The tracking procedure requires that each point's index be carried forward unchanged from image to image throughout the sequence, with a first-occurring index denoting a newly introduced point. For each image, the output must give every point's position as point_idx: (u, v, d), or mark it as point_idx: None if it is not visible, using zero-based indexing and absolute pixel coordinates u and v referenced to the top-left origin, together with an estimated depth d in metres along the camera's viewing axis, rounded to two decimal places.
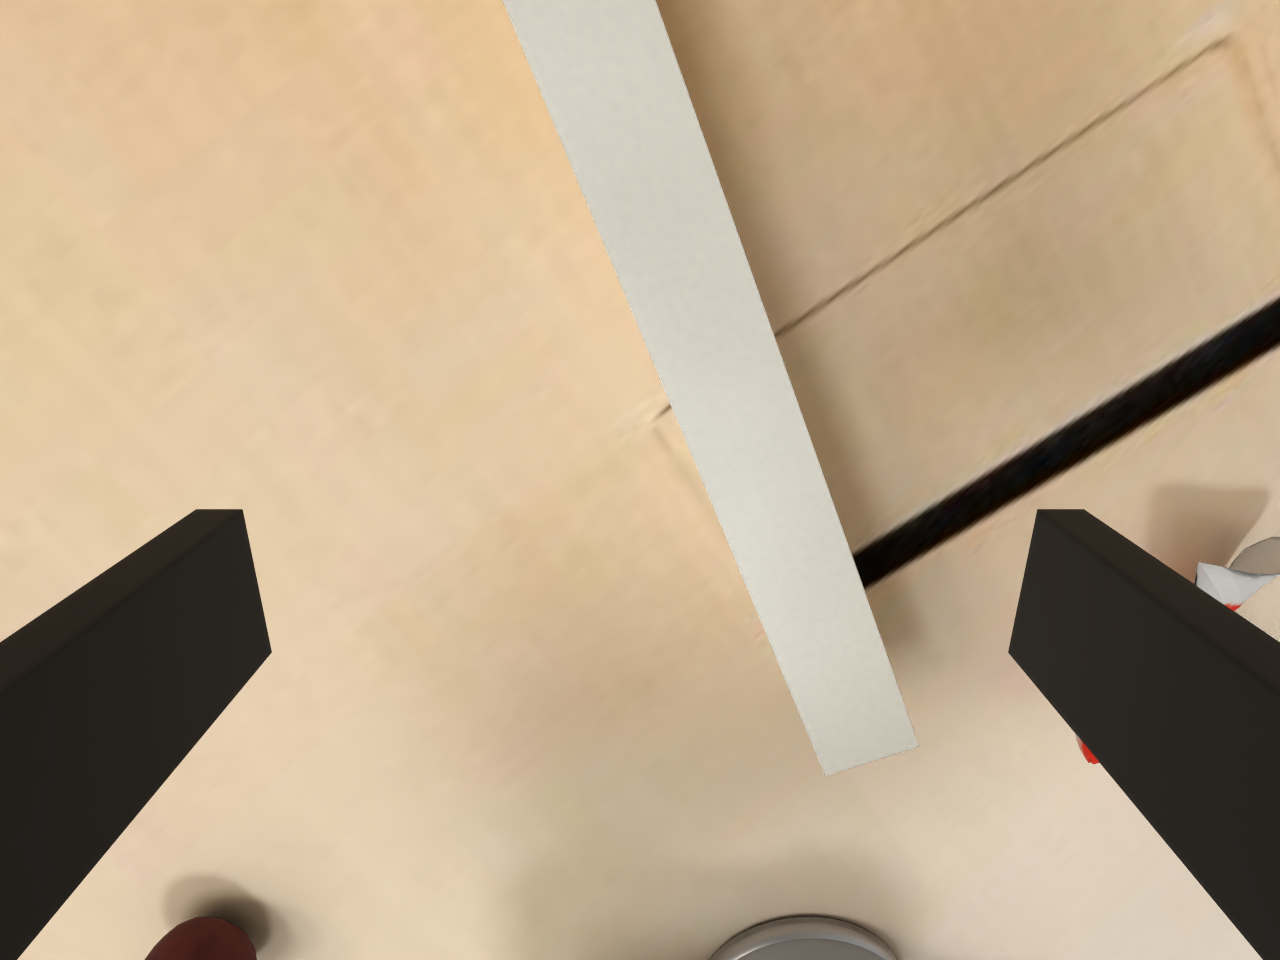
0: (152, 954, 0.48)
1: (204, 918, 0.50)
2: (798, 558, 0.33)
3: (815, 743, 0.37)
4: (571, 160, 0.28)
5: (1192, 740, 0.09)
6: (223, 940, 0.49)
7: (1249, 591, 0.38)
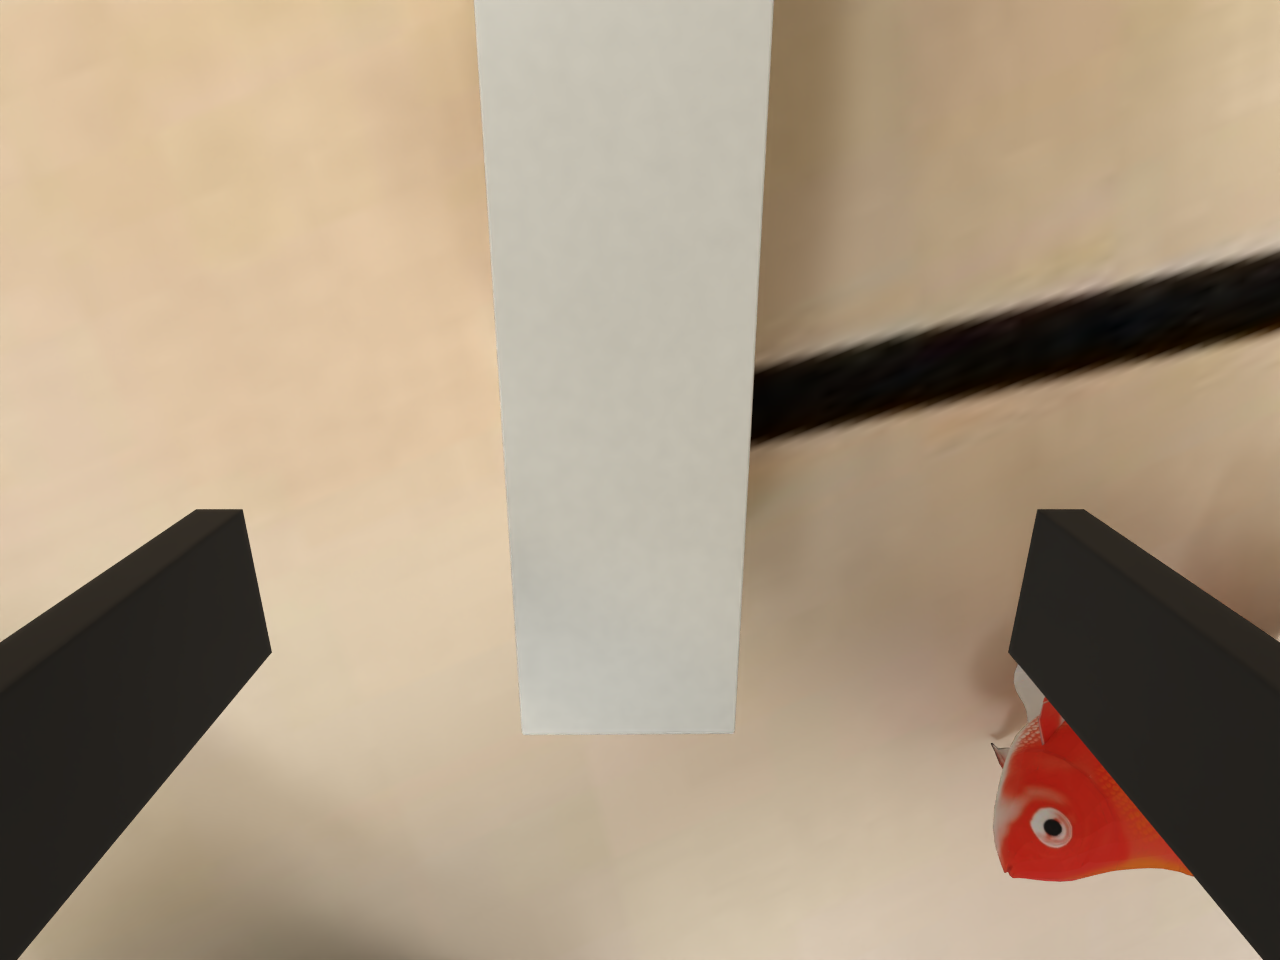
0: None
1: None
2: (636, 155, 0.13)
3: (523, 653, 0.16)
4: None
5: (1192, 740, 0.09)
6: None
7: None
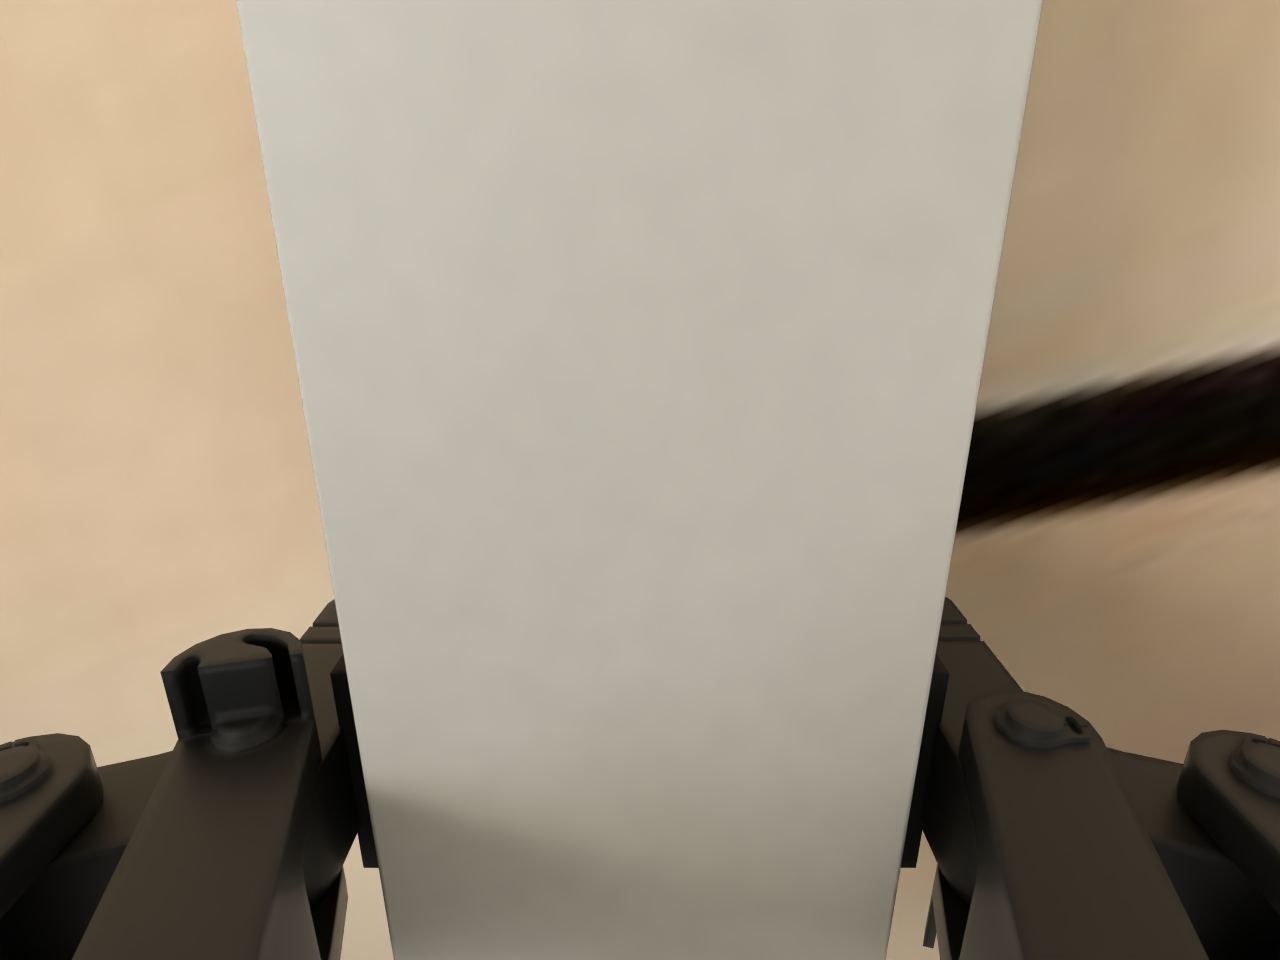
0: None
1: None
2: (672, 2, 0.04)
3: None
4: None
5: None
6: None
7: None
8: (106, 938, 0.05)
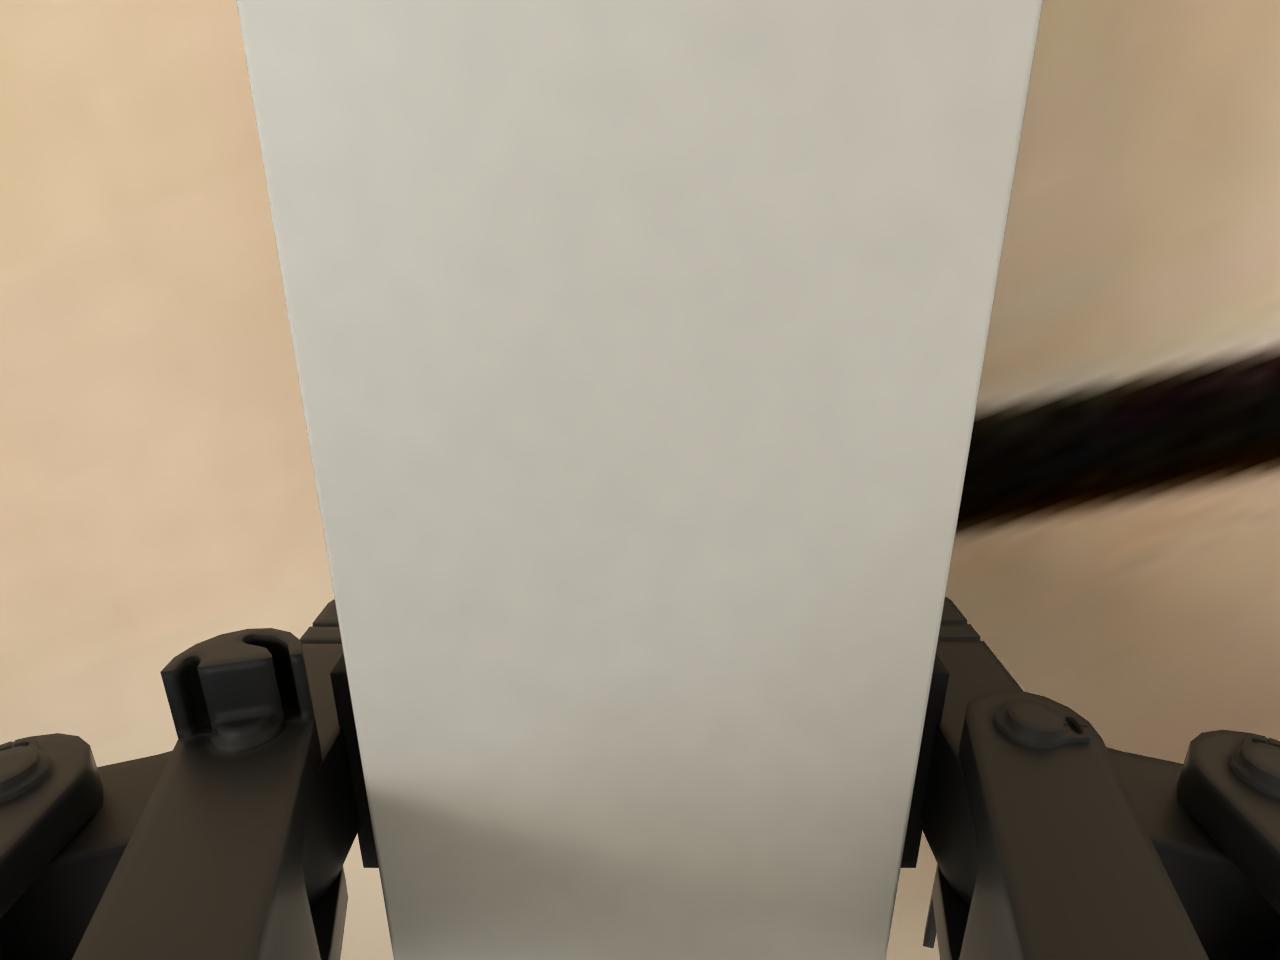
0: None
1: None
2: (670, 2, 0.04)
3: None
4: None
5: None
6: None
7: None
8: (106, 938, 0.05)
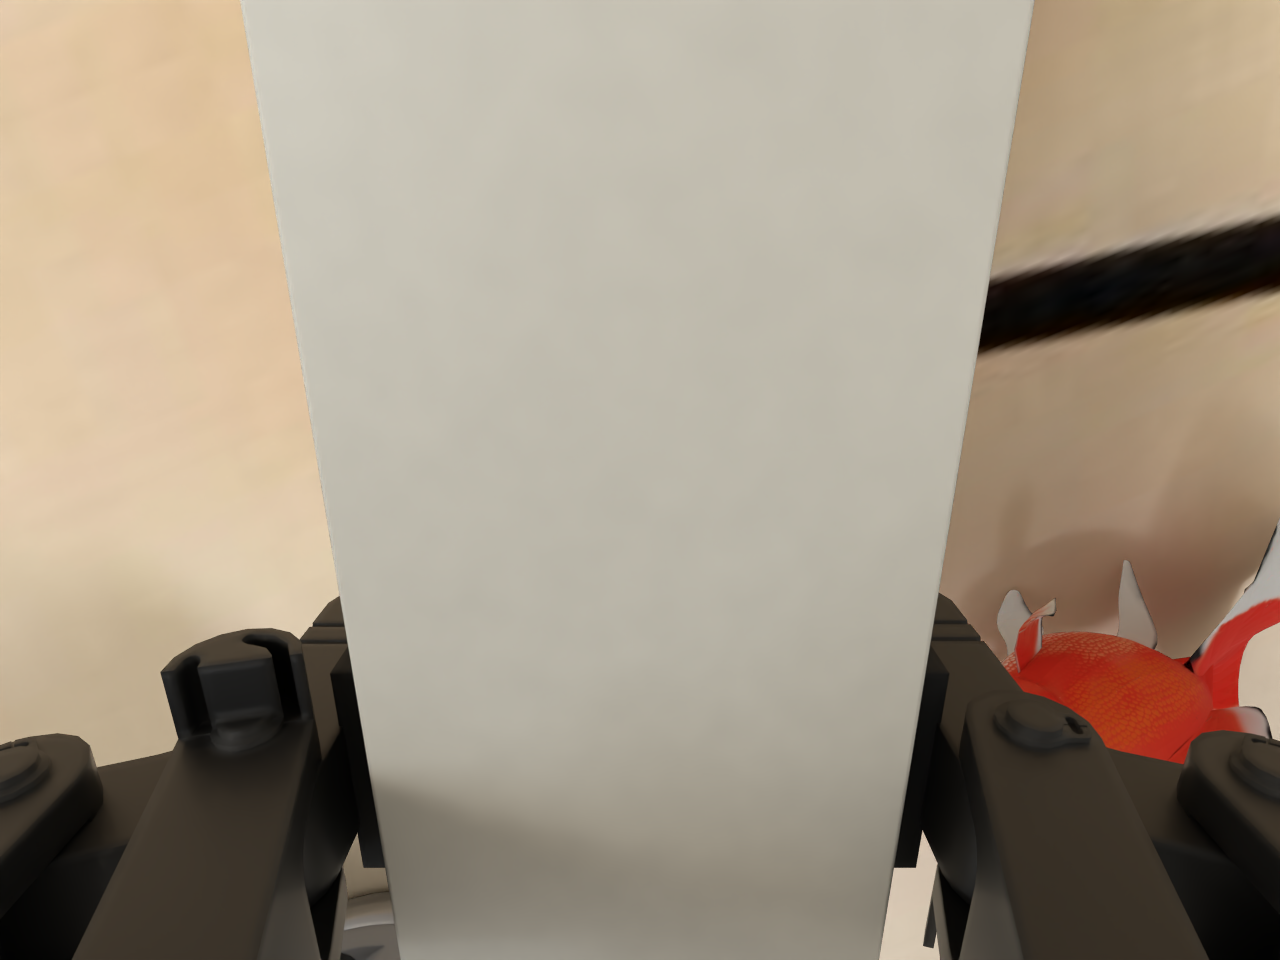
0: None
1: None
2: (670, 10, 0.05)
3: None
4: None
5: None
6: None
7: None
8: (106, 938, 0.05)
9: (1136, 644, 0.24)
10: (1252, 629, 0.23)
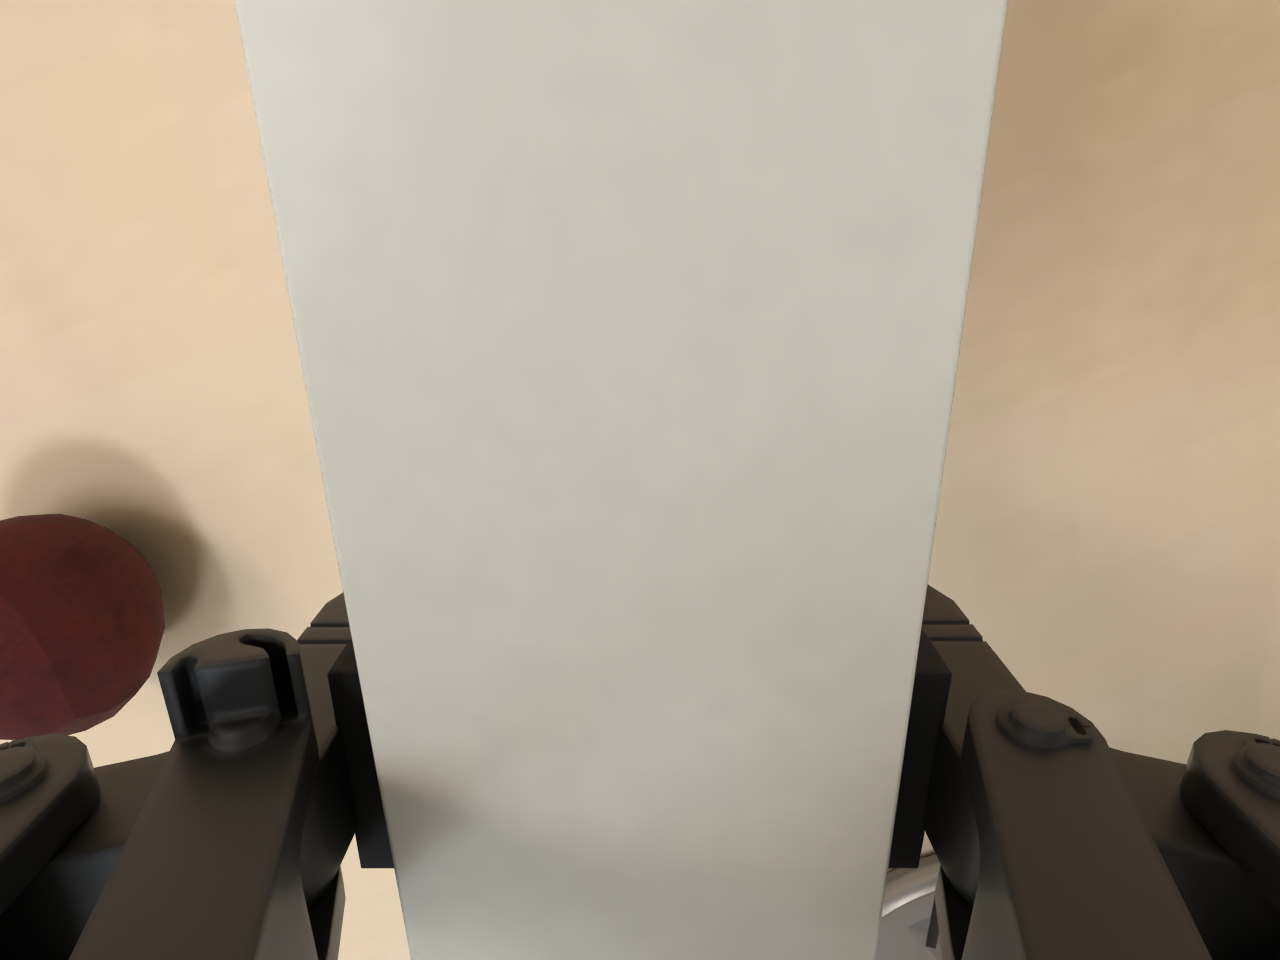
0: None
1: (92, 522, 0.26)
2: (652, 0, 0.05)
3: None
4: None
5: None
6: (124, 564, 0.25)
7: None
8: (103, 939, 0.05)
9: None
10: None
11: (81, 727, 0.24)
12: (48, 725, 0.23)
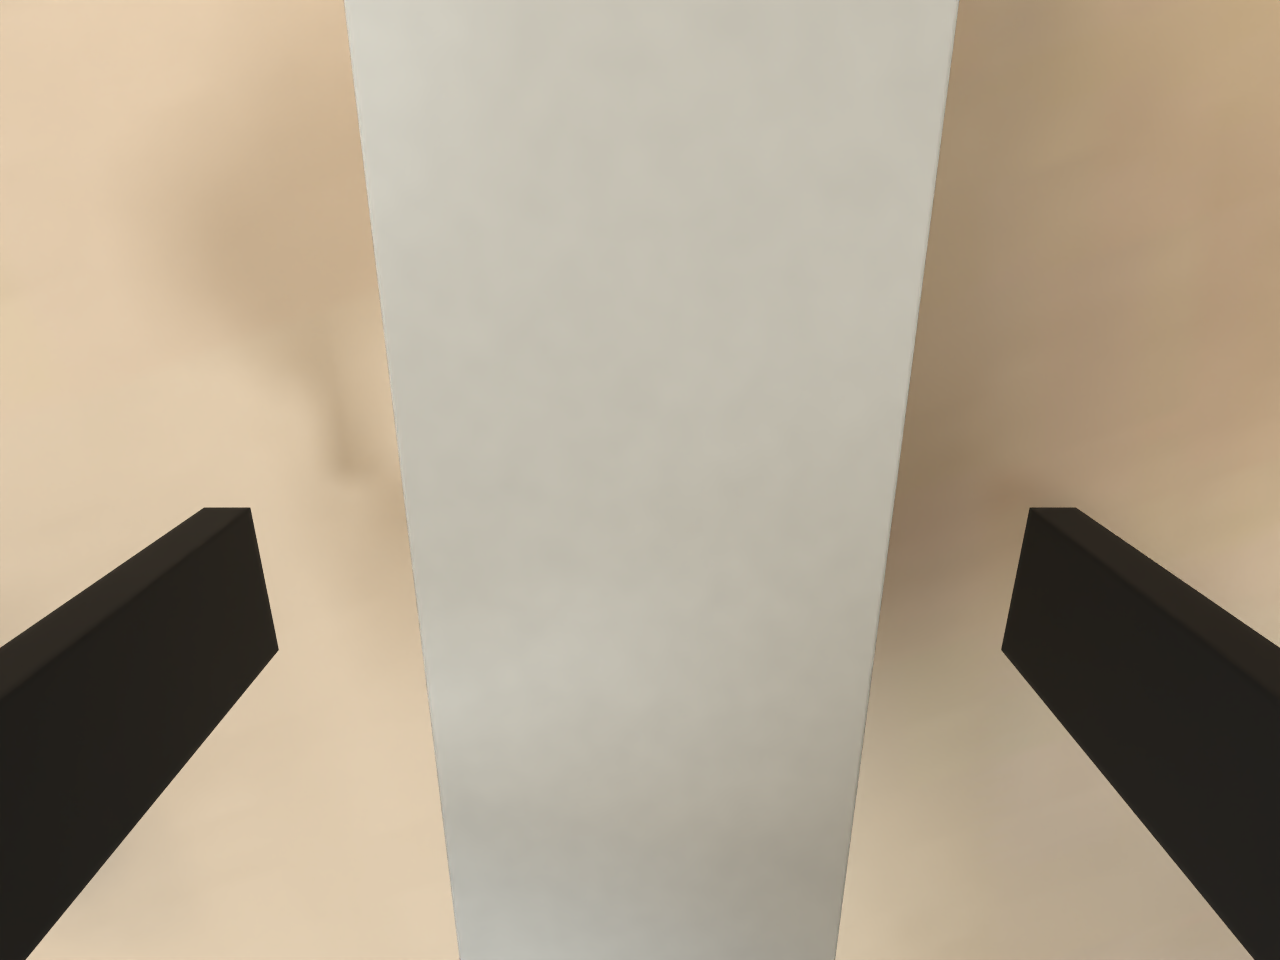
0: None
1: None
2: None
3: (466, 921, 0.09)
4: None
5: (1180, 735, 0.09)
6: None
7: None
8: None
9: None
10: None
11: None
12: None
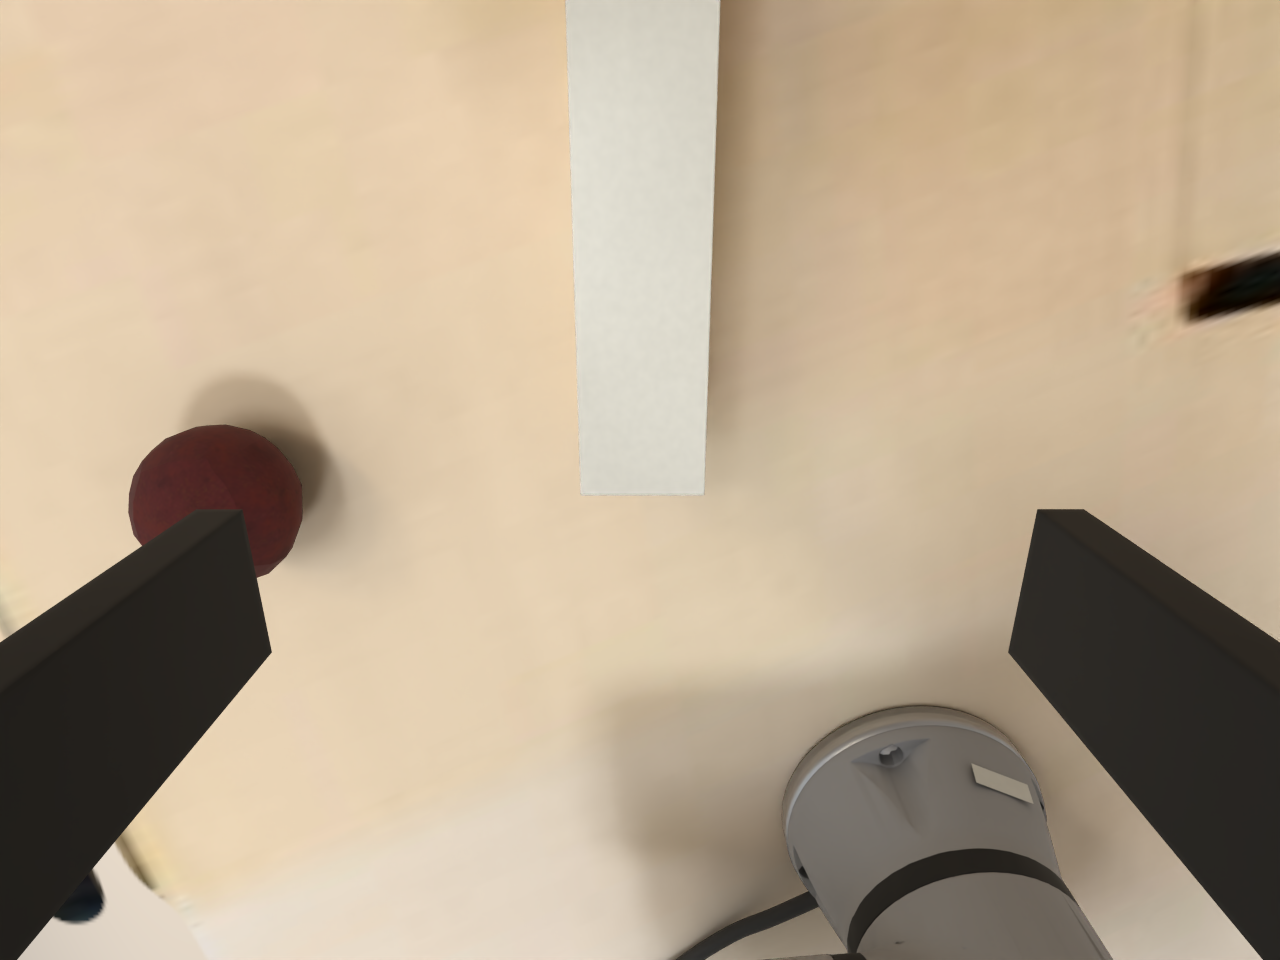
0: (183, 432, 0.33)
1: (254, 433, 0.36)
2: (648, 158, 0.25)
3: (582, 442, 0.29)
4: None
5: (1192, 739, 0.09)
6: (282, 461, 0.35)
7: None
8: None
9: None
10: None
11: None
12: None
